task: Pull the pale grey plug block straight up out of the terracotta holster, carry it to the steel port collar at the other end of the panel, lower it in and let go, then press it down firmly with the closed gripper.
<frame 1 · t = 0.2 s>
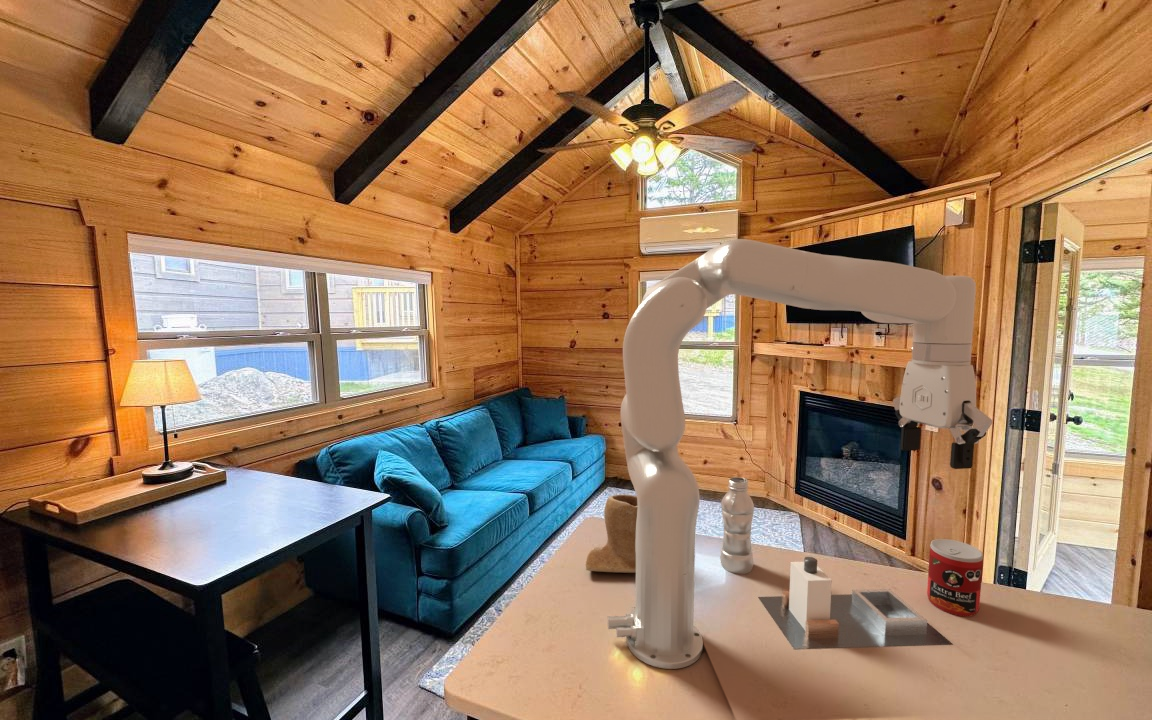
hand: (934, 458, 77), 31 cm above the kitchen island, tool pointing down, fingers open, 9 cm apart
plastic bottle: (736, 572, 100), on the kitchen island
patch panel: (847, 625, 83), on the kitchen island
canned food: (952, 605, 89), on the kitchen island
plug: (808, 619, 83), point 1 cm above the kitchen island, touching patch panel
tan suede boot: (621, 565, 104), on the kitchen island
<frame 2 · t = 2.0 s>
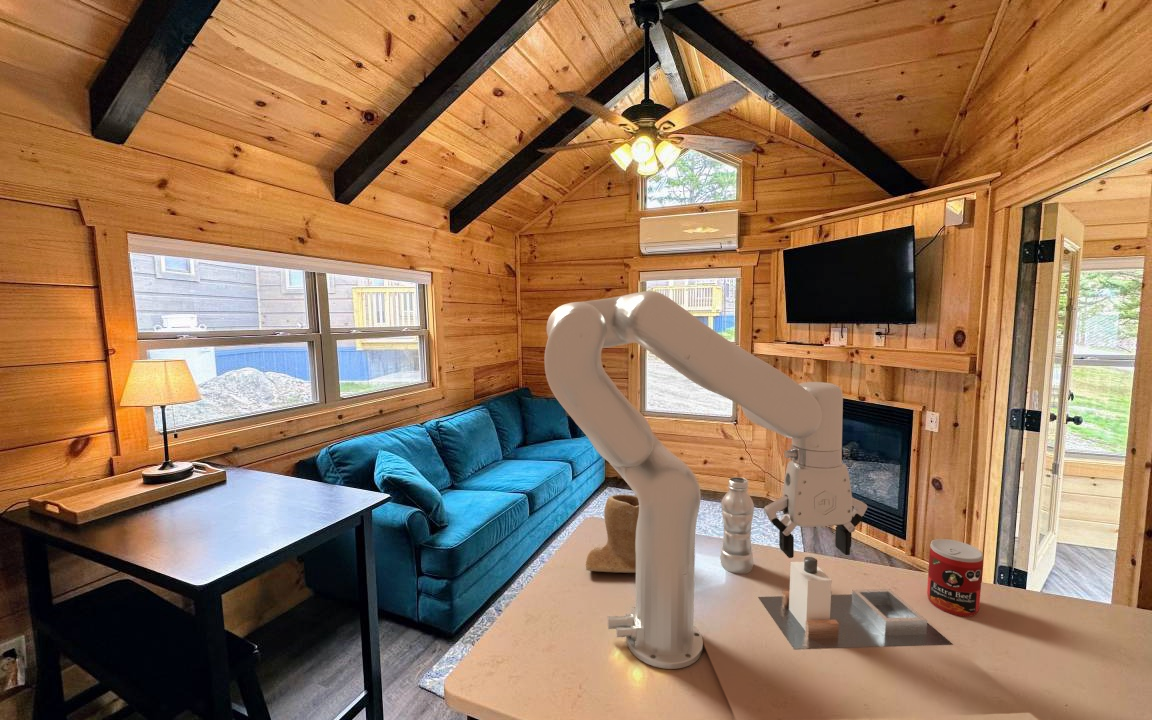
hand: (814, 552, 82), 13 cm above the kitchen island, tool pointing down, fingers open, 9 cm apart
nothing on the kitchen island moved.
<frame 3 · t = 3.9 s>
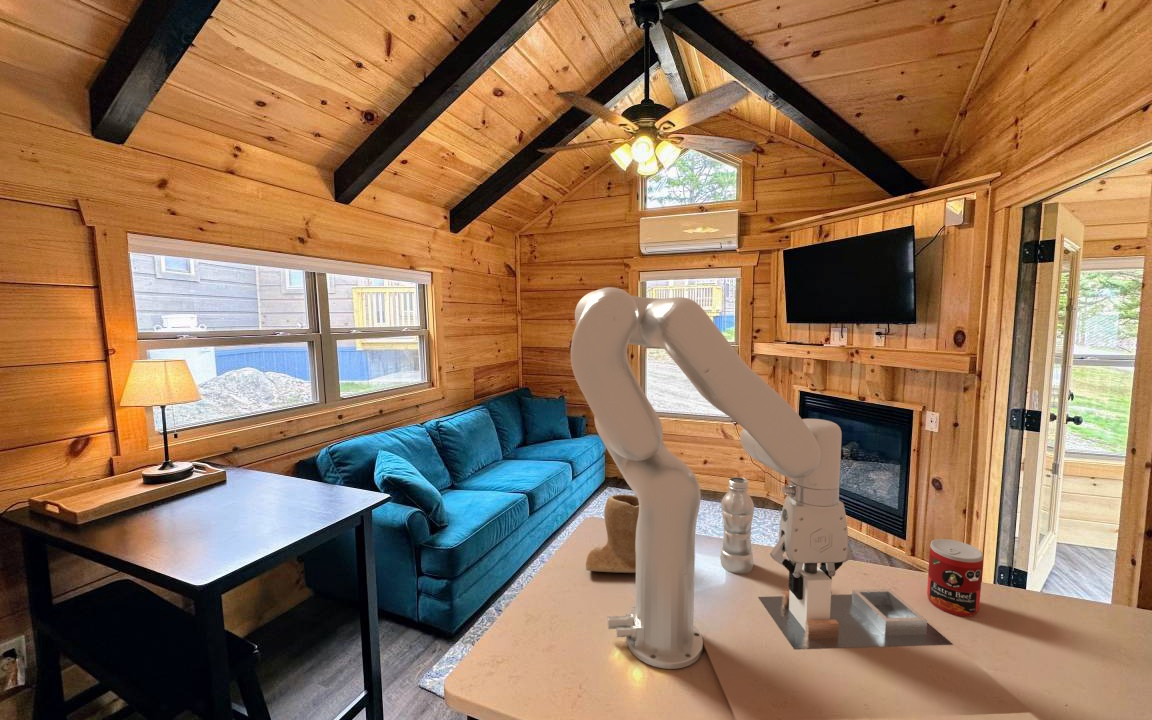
hand: (809, 593, 82), 6 cm above the kitchen island, tool pointing down, fingers closed on plug, 4 cm apart
plug: (808, 619, 83), point 1 cm above the kitchen island, touching gripper, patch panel
everything else where it was.
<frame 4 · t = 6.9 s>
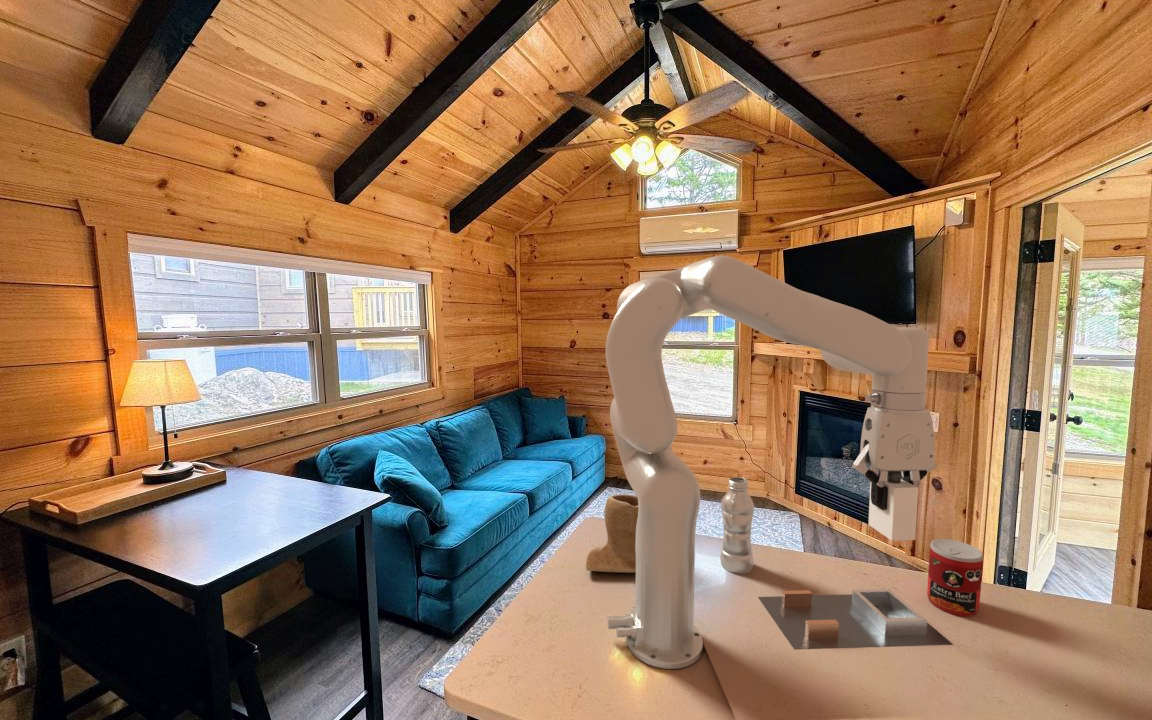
hand: (892, 505, 81), 22 cm above the kitchen island, tool pointing down, fingers closed on plug, 4 cm apart
plug: (891, 532, 82), point 17 cm above the kitchen island, touching gripper
everything else where it was.
when the fingers open (7 cm above the kitchen island, at t = 10.4 s): plug stays where it is, resting on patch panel.
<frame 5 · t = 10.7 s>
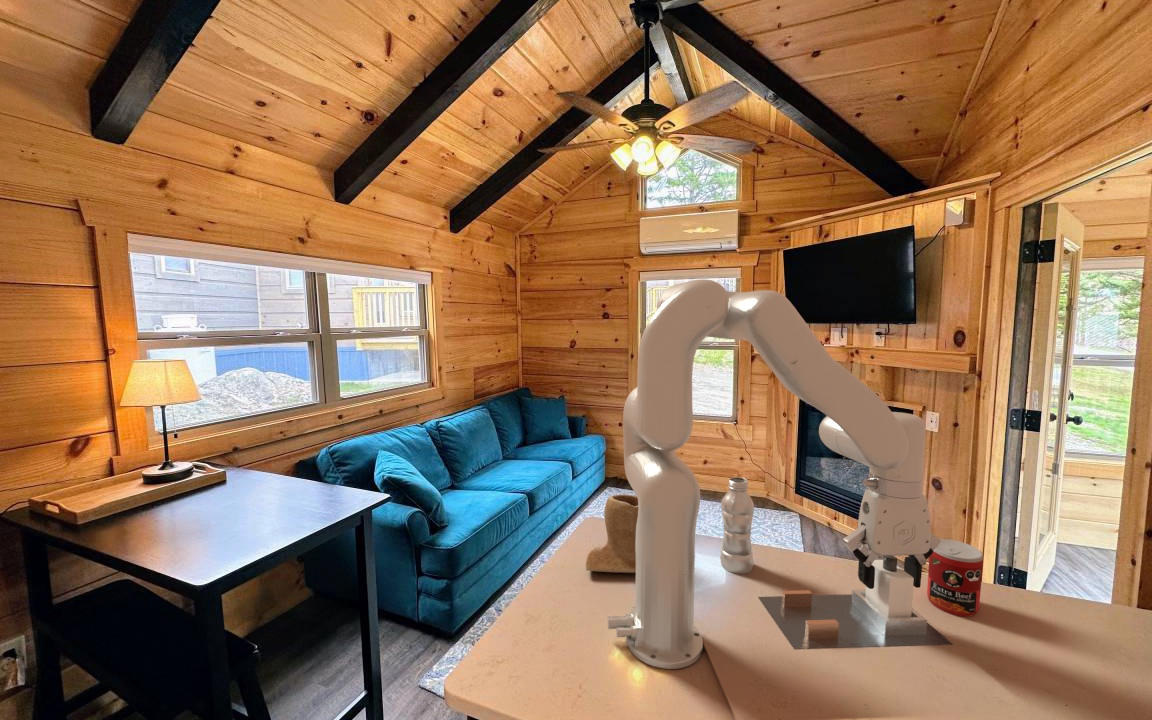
hand: (889, 583, 82), 8 cm above the kitchen island, tool pointing down, fingers open, 7 cm apart
plug: (886, 617, 83), point 1 cm above the kitchen island, touching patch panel
everything else where it was.
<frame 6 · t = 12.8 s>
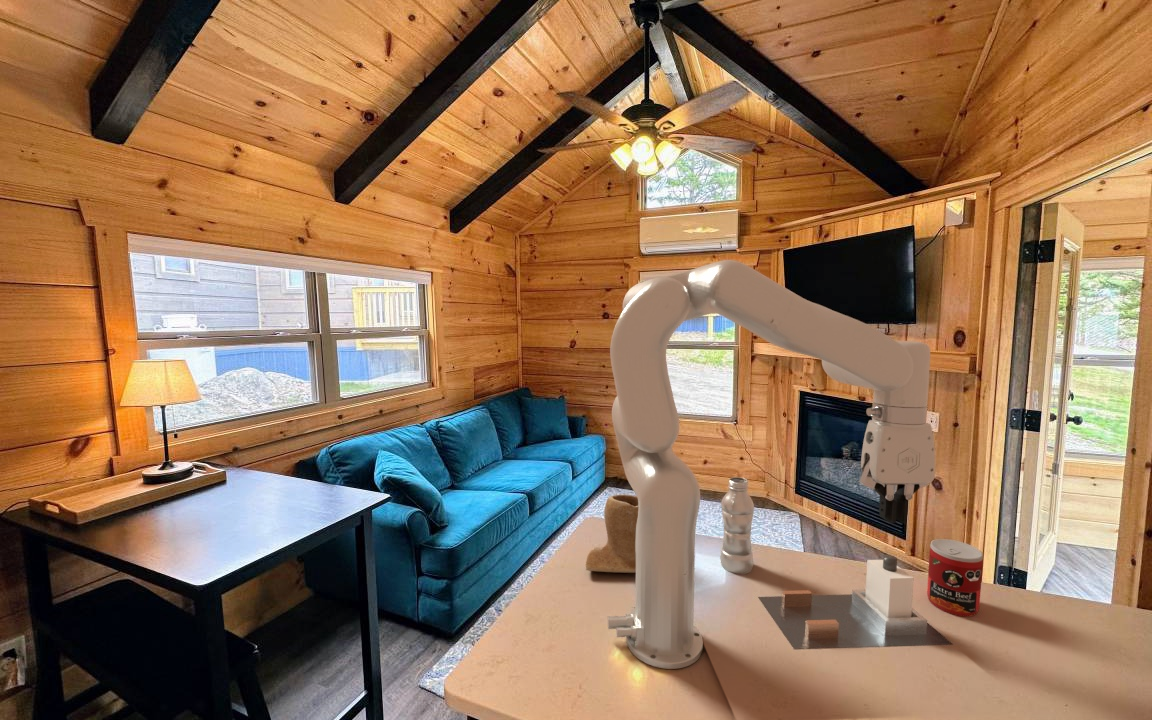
hand: (892, 519, 81), 19 cm above the kitchen island, tool pointing down, fingers closed
nothing on the kitchen island moved.
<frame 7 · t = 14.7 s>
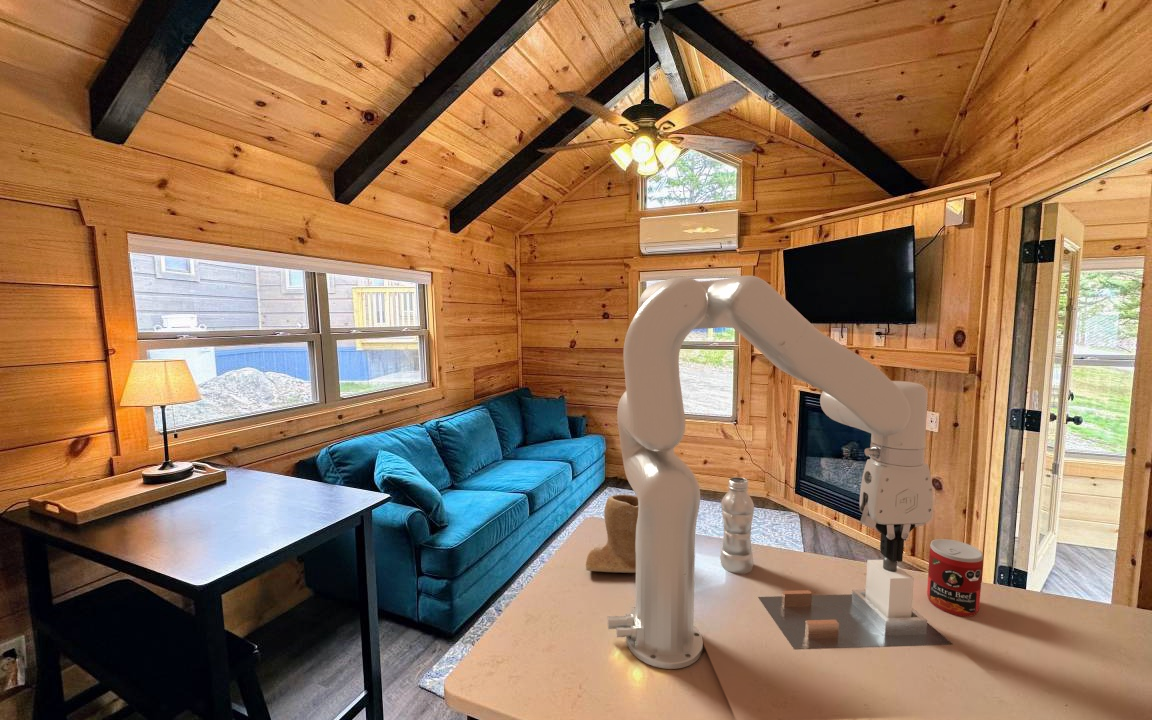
hand: (891, 557, 82), 12 cm above the kitchen island, tool pointing down, fingers closed
plug: (886, 617, 83), point 1 cm above the kitchen island, touching gripper, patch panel
everything else where it was.
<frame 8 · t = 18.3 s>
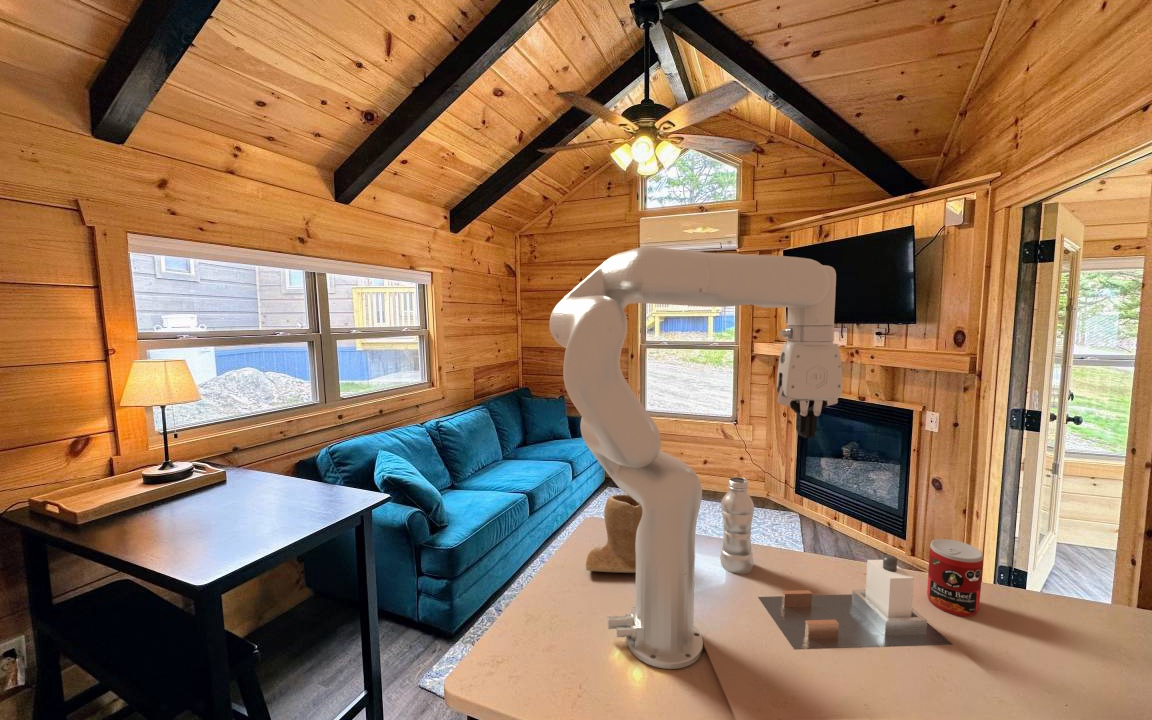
hand: (805, 435, 87), 32 cm above the kitchen island, tool pointing down, fingers closed
plug: (886, 617, 83), point 1 cm above the kitchen island, touching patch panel
everything else where it was.
at the end: plug 0.0 cm from the target spot on the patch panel, point 1.2 cm above the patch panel's base; plug tilted 0°; the gripper is holding nothing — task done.
